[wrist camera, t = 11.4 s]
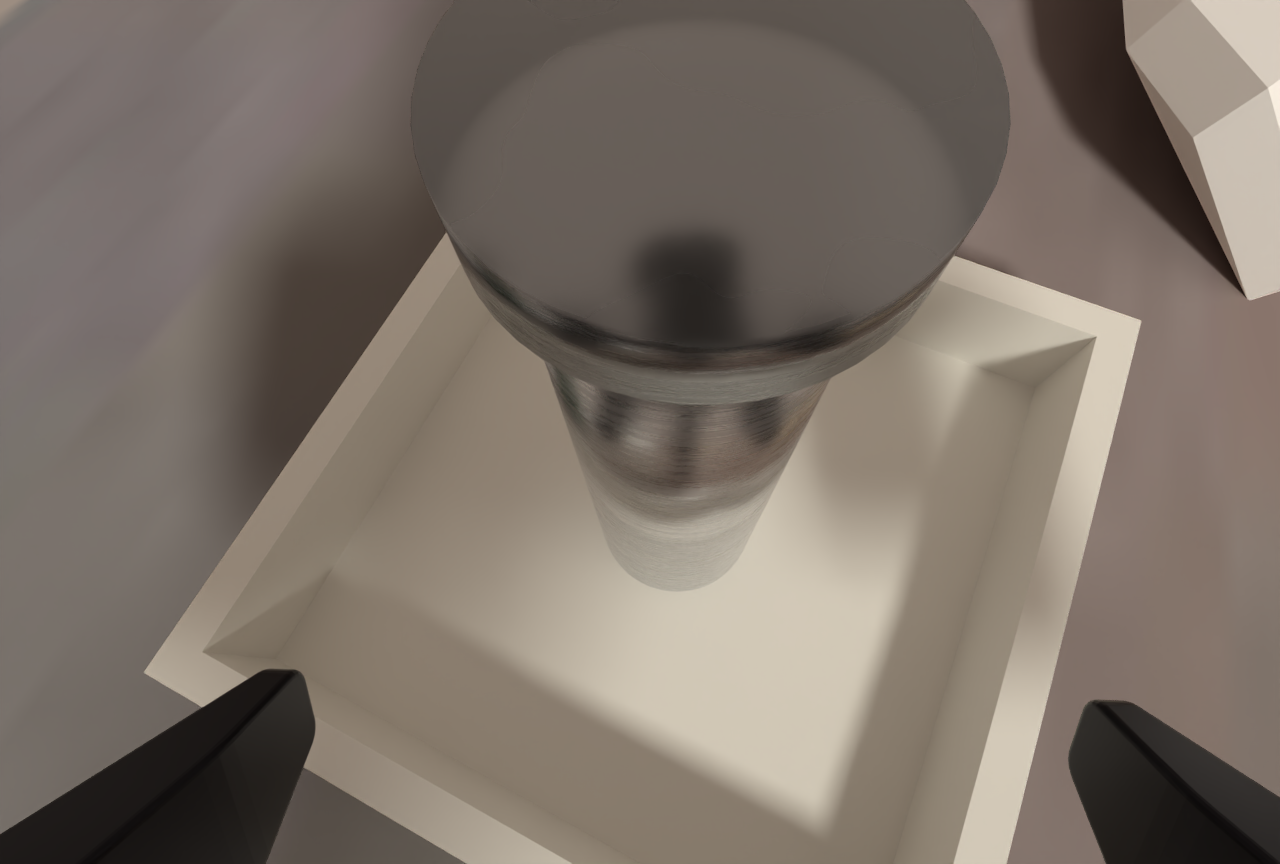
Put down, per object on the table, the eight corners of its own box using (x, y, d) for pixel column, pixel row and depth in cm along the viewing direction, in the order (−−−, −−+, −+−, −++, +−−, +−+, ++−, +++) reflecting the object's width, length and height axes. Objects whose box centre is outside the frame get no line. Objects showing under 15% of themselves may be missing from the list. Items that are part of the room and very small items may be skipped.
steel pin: (799, 560, 16) (1144, 187, 5) (630, 641, 16) (538, 448, 4) (715, 407, 18) (814, -160, 6) (558, 476, 17) (342, -6, 6)
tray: (871, 1034, 14) (937, 1142, 10) (246, 677, 16) (144, 672, 13) (1056, 386, 18) (1141, 320, 15) (551, 199, 21) (531, 109, 18)
